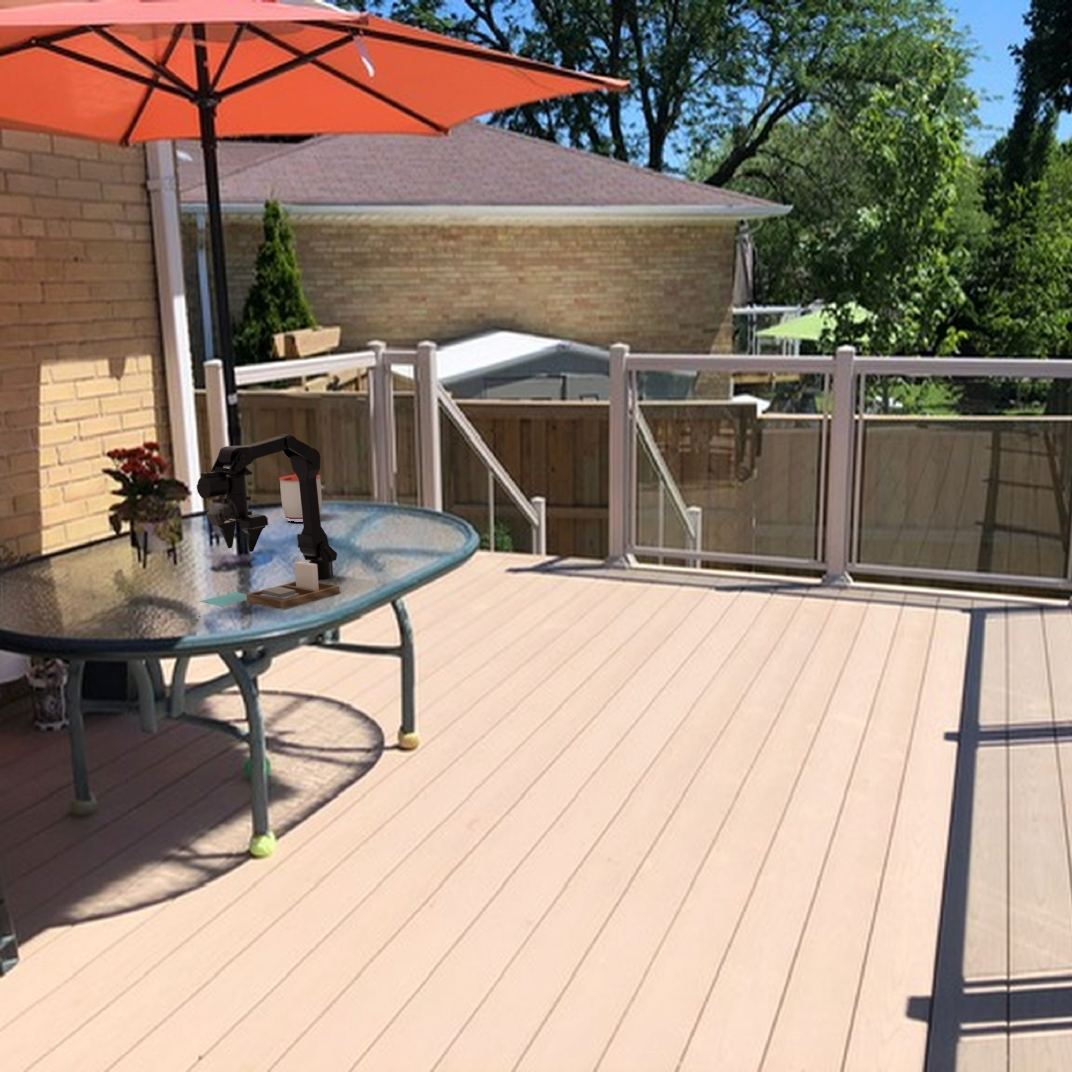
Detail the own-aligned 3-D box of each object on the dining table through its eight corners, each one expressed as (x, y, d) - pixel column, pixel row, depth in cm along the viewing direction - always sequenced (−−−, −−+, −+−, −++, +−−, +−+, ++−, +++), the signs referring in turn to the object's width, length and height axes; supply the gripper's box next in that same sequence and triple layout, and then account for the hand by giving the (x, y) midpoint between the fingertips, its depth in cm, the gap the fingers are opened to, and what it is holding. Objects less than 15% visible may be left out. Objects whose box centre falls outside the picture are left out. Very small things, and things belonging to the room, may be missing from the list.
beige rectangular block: (302, 590, 310) (300, 561, 309) (319, 594, 306) (317, 564, 304) (296, 592, 309) (294, 562, 307) (313, 595, 305) (311, 565, 303)
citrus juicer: (334, 517, 429) (331, 466, 425) (307, 525, 413) (304, 472, 409) (301, 515, 435) (297, 465, 431) (273, 523, 419) (269, 471, 416)
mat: (235, 595, 311) (235, 592, 311) (258, 600, 305) (258, 596, 305) (199, 604, 302) (199, 601, 302) (222, 610, 296) (222, 606, 296)
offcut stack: (275, 596, 305) (274, 585, 305) (301, 601, 299) (300, 590, 298) (256, 601, 300) (255, 590, 300) (282, 606, 294) (281, 595, 293)
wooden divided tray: (303, 589, 316) (303, 579, 315) (340, 596, 307) (339, 585, 306) (247, 604, 301) (246, 594, 300) (283, 612, 292) (282, 601, 291)
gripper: (189, 494, 297) (194, 551, 301) (232, 500, 286) (237, 559, 289) (224, 489, 306) (228, 544, 309) (267, 494, 295) (271, 551, 298)
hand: (240, 549), depth 301 cm, fingers open, 9 cm apart
